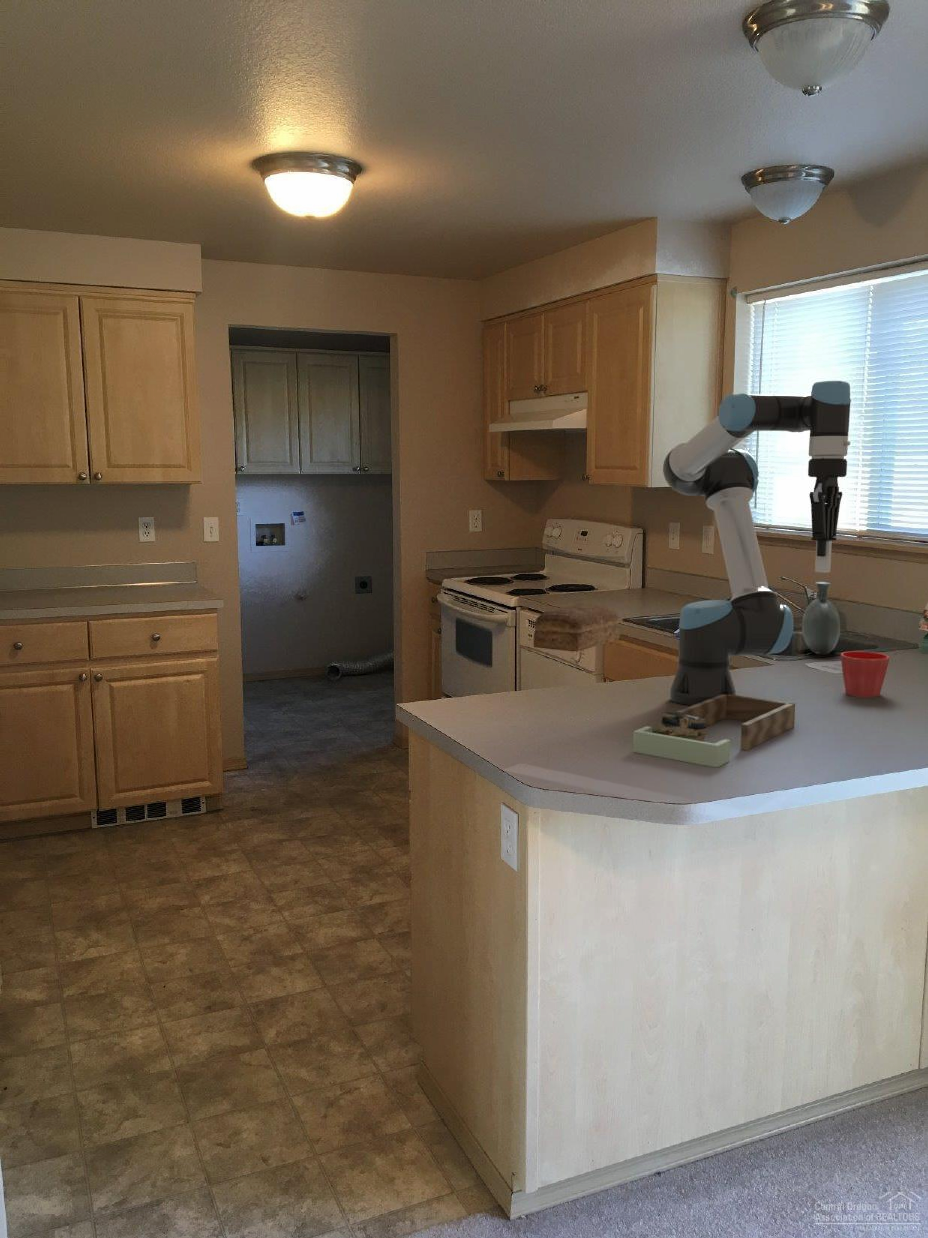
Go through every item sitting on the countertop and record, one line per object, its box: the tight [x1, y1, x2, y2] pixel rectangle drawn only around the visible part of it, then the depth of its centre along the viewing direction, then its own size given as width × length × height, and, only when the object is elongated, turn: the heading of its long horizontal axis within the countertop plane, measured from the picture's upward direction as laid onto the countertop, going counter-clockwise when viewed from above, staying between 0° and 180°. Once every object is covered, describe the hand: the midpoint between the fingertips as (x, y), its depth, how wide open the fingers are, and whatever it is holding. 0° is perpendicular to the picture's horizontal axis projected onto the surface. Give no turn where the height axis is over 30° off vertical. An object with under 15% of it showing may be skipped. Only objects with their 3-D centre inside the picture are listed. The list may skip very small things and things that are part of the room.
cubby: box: [676, 694, 796, 752], centre depth 207 cm, size 24×16×5 cm, turn 141°
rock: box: [652, 710, 709, 742], centre depth 196 cm, size 9×9×6 cm
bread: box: [533, 602, 621, 652], centre depth 316 cm, size 17×30×13 cm, turn 144°
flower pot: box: [840, 650, 890, 698], centre depth 244 cm, size 11×11×10 cm
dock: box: [632, 725, 731, 768], centre depth 189 cm, size 5×17×4 cm, turn 51°
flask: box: [801, 581, 841, 656], centre depth 298 cm, size 12×17×22 cm
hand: (822, 571), depth 211 cm, fingers closed
